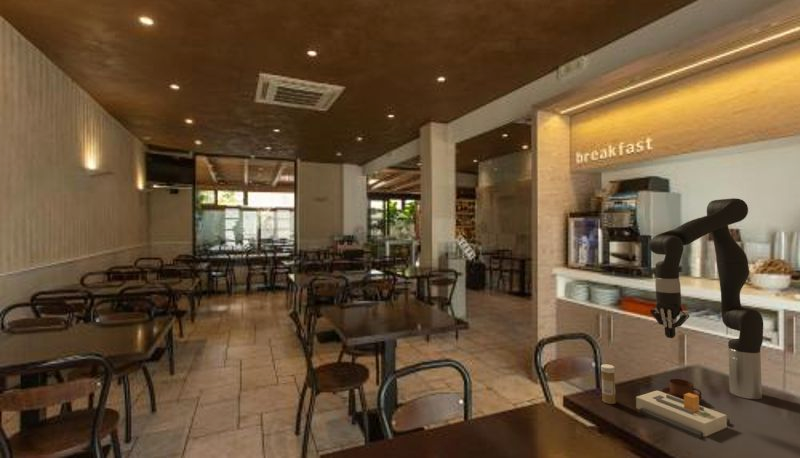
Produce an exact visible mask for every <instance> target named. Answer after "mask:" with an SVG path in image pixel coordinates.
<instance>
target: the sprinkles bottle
mask: <svg viewBox="0 0 800 458" xmlns="http://www.w3.org/2000/svg"><path fill="white" fill-rule="evenodd" d="M615 369H616V367H615V366H613V365H612V364H607V363H605V364H604V363H603V364H601V365H600V371H601V393H602V399H601V401H602V402H604V404H605V403H606V404H609V405H613V404H616V383H615V372H616V370H615Z"/></svg>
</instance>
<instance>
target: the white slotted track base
mask: <svg viewBox="0 0 800 458" xmlns="http://www.w3.org/2000/svg"><path fill="white" fill-rule="evenodd" d="M638 411H639V414H640V415H643V416H645V417H647V418H650V419H651V420H654V421H657V422H659V423H661V424H664V425H666V426H669V427H671V428H673V429H675V430H677V431H680V432H683V433H685V434H687V435H689V436H692V437H694V438H696V437H697V439H699V440H701V439H702V438H703V437H704V436H703V432H700V431H698V430H696V429H693V428H691V427H688V426H686V425H683V424H681V423H679V422H676V421H674V420H671V419H669V418H666V417H664V416H661V415H659V414H657V413H654V412H652V411H649V410H647V409H644V408H640V409H638ZM730 421H731V420H730V419H729V418H727V427H728V426H730V423H731V422H730Z"/></svg>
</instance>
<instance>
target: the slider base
mask: <svg viewBox="0 0 800 458" xmlns="http://www.w3.org/2000/svg"><path fill="white" fill-rule="evenodd" d="M635 401H636V402H635V403H636V405H635V407H636V409H637V410H640V408H644V409H647V410H649V411H652V412H654V413H657V414H659V415H661V416H664V417H666V418H669V419H671V420H674V421H676V422H679V423H681V424H683V425H686V426H688V427H691V428H693V429H696V430H698V431H700V432H703V436H702V437H708V436H710V435H713V434H715V433H717V432H719V431H722V430H724V429H726V428H727V427H728V426H727V419H728V418H727V414H724V413H722V412H719V411H717V410H713V409H712V408H708V407H705V406H702V405H700V404H699V411H696V412H694V411H692V410H689V409H686V408H684V400H683V399H680V398H677V397H674V396H672V395H669V394H666V393H663V391H660V390H654V391H651V392H647V393H645V394H641V395H637V396H636V397H635Z"/></svg>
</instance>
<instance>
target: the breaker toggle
mask: <svg viewBox="0 0 800 458" xmlns="http://www.w3.org/2000/svg"><path fill="white" fill-rule="evenodd" d="M699 405H700V401H699V396H697V395H694V394H691V393H687V394H684V408H686V409H689V410H692V411H694V412H696V411H699Z"/></svg>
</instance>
